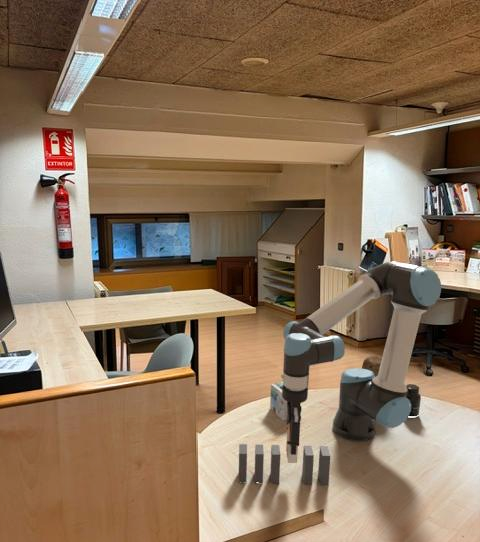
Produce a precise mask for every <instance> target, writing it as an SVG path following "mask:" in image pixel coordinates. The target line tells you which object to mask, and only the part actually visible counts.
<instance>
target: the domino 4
mask: <svg viewBox="0 0 480 542" xmlns="http://www.w3.org/2000/svg"><path fill="white" fill-rule="evenodd" d="M287 431H288V434H287V433H286V442H287V441H290V423H288V430H287ZM288 447H289V444H287V451H286V459H287V460H288Z"/></svg>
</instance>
